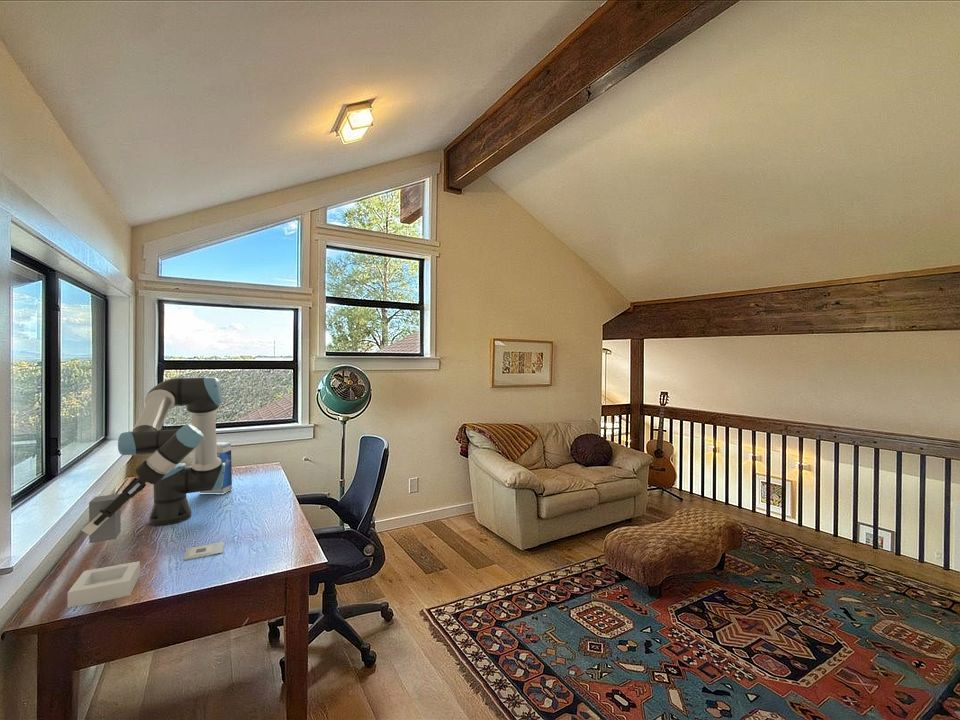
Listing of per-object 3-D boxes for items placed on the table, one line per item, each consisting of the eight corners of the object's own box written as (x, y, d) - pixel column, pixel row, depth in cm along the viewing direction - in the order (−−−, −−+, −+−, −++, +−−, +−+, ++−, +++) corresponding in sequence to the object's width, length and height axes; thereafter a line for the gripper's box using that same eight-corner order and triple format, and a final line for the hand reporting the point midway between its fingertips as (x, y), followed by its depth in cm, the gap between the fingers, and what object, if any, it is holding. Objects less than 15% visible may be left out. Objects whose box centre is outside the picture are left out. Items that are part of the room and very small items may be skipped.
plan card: (186, 549, 161) (186, 547, 161) (224, 542, 167) (224, 541, 167) (182, 560, 152) (182, 558, 152) (222, 553, 158) (222, 551, 158)
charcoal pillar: (95, 535, 134) (95, 496, 134) (120, 532, 137) (120, 493, 137) (89, 543, 129) (88, 502, 129) (115, 539, 132) (114, 499, 131)
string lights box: (232, 490, 230) (232, 442, 230) (222, 495, 223) (222, 445, 222) (209, 490, 232) (208, 441, 231) (198, 494, 224) (197, 444, 224)
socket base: (84, 585, 136) (84, 570, 136) (140, 574, 143) (140, 561, 143) (67, 608, 124) (67, 592, 124) (129, 595, 130) (129, 580, 130)
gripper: (161, 482, 131) (91, 547, 124) (171, 467, 148) (110, 524, 141) (138, 466, 129) (66, 532, 121) (151, 453, 146) (88, 511, 138)
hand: (89, 528), depth 131 cm, fingers closed on charcoal pillar, 6 cm apart
